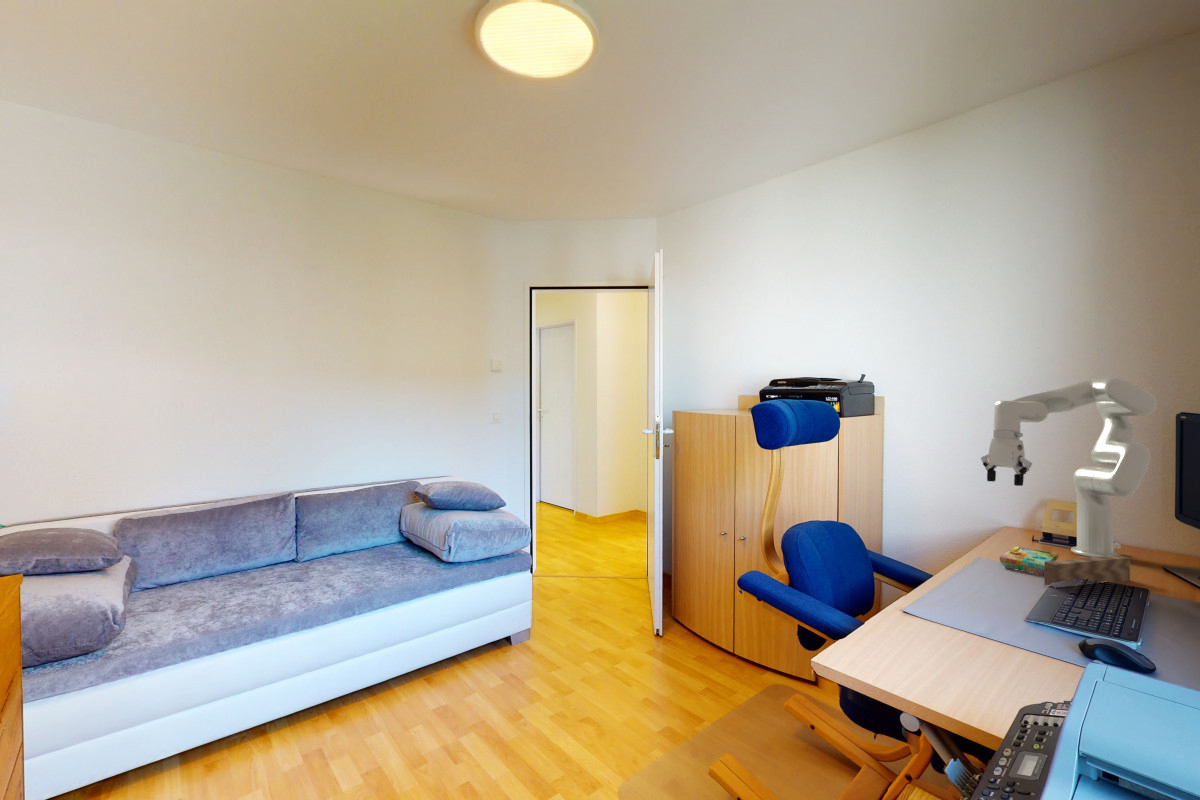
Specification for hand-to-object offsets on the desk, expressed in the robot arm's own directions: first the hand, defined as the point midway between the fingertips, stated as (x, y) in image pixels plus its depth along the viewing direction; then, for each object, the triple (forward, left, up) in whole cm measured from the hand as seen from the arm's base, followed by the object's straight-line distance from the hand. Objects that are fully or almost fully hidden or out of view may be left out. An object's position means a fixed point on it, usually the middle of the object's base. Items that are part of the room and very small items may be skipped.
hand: (1004, 483), depth 186 cm
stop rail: (+3, +28, -26) cm, 38 cm away
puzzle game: (+3, +11, -26) cm, 29 cm away
